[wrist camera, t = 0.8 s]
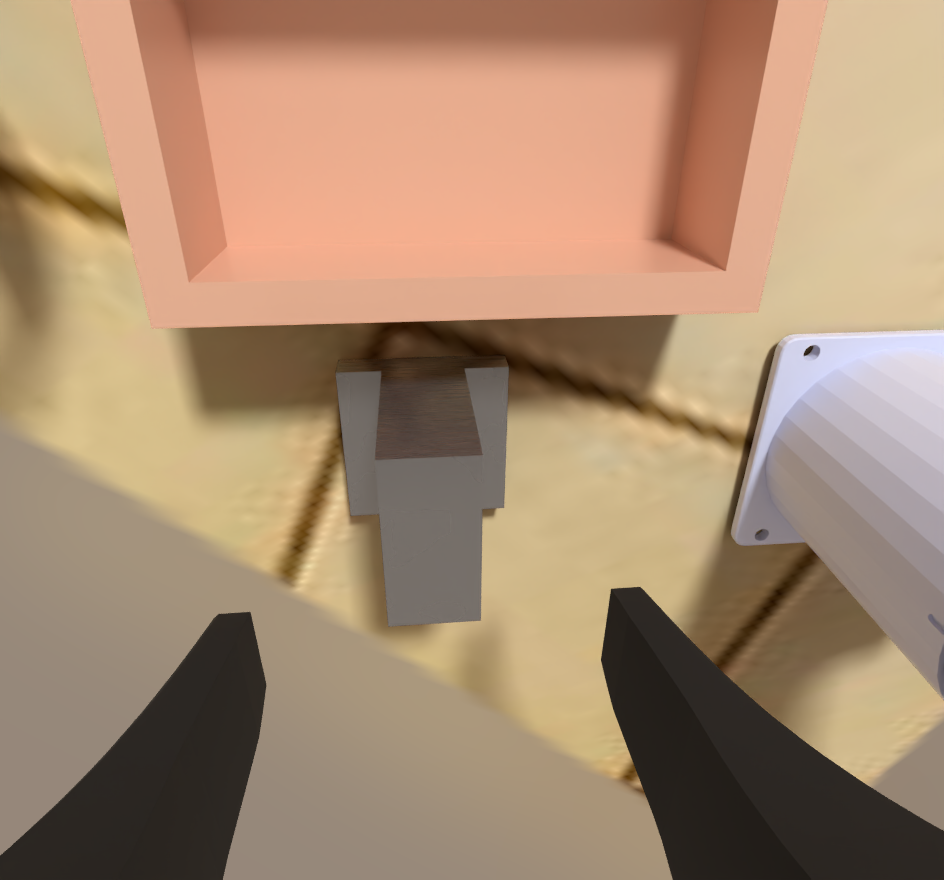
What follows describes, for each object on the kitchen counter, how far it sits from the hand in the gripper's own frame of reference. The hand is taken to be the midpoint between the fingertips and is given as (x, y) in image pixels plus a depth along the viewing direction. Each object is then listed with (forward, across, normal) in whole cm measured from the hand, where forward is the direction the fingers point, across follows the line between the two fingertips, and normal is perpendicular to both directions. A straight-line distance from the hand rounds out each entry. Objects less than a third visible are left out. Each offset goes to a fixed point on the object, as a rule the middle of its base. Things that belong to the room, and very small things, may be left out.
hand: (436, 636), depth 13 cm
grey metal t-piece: (+9, 0, 0) cm, 9 cm away
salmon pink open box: (+9, -1, -10) cm, 13 cm away
